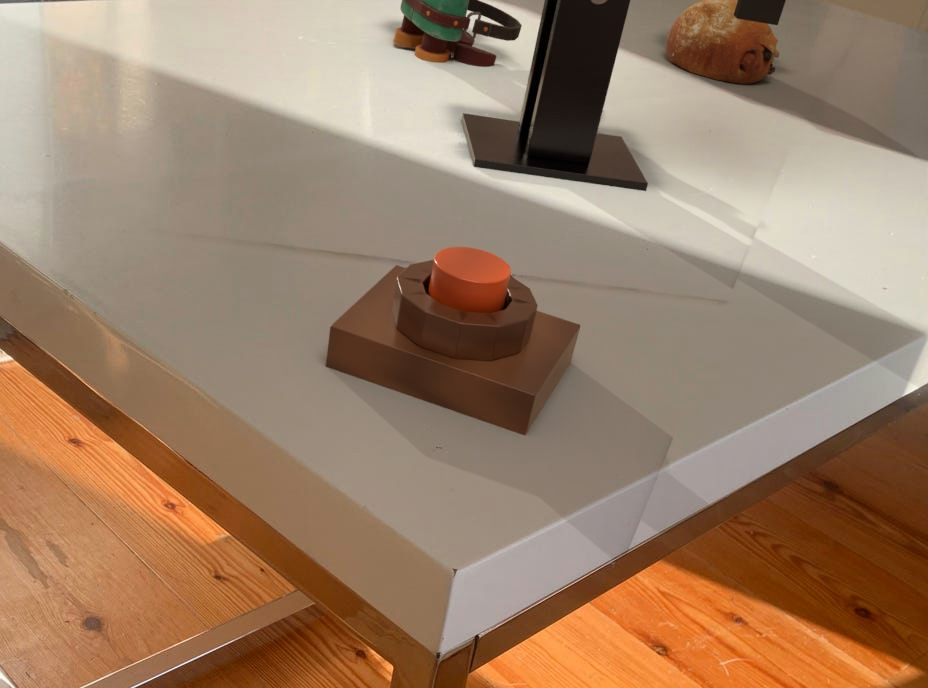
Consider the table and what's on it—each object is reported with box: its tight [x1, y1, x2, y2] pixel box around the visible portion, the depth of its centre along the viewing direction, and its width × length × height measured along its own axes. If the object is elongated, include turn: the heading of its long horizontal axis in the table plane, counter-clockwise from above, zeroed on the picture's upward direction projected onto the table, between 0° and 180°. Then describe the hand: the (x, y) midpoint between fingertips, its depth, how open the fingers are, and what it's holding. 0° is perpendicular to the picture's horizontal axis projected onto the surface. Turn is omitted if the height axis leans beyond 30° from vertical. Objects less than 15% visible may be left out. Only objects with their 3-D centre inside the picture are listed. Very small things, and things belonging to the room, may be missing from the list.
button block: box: [325, 259, 581, 436], centre depth 54 cm, size 10×8×4 cm
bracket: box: [461, 0, 649, 192], centre depth 75 cm, size 12×9×14 cm
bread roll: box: [665, 0, 780, 85], centre depth 107 cm, size 10×10×8 cm
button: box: [428, 246, 512, 313], centre depth 52 cm, size 4×4×2 cm
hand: (734, 0), depth 73 cm, fingers open, 8 cm apart
